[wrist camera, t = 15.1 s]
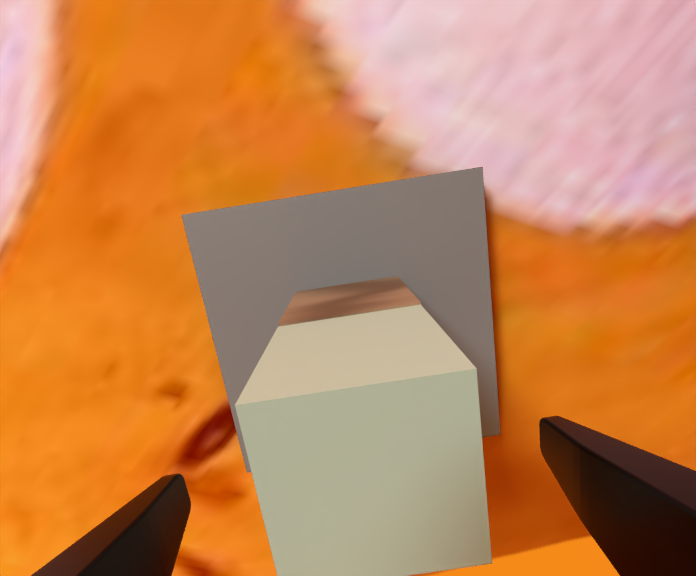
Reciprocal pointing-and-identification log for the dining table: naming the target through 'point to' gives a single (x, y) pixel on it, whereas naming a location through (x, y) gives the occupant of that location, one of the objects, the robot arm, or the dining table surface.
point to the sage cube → (367, 447)
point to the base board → (349, 266)
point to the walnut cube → (348, 300)
